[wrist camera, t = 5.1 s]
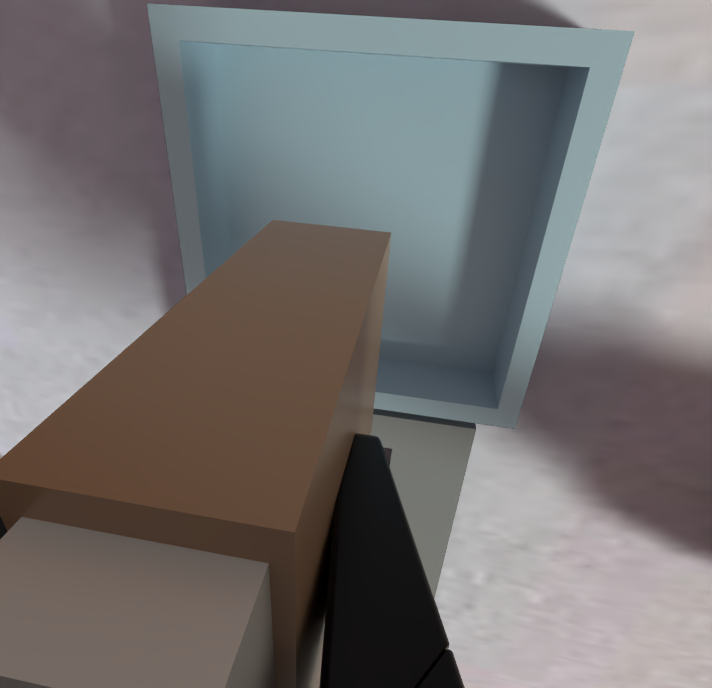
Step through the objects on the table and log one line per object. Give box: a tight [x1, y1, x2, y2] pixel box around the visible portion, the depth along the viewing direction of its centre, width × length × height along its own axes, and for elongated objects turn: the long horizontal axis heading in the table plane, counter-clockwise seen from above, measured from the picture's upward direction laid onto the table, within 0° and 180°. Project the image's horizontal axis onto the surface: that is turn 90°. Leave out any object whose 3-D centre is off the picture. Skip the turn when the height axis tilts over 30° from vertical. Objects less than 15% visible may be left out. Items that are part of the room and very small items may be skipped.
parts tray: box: [147, 3, 635, 429], centre depth 17 cm, size 13×13×3 cm
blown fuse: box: [0, 220, 391, 688], centre depth 7 cm, size 2×5×8 cm, turn 177°
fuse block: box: [371, 408, 476, 597], centre depth 25 cm, size 10×18×2 cm, turn 177°
